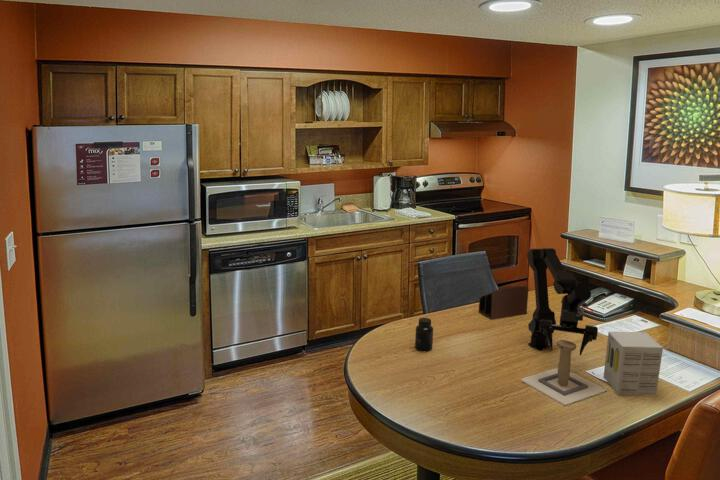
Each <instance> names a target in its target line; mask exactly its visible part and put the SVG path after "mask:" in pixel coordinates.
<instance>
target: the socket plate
mask: <svg viewBox="0 0 720 480" xmlns="http://www.w3.org/2000/svg"><path fill="white" fill-rule="evenodd" d="M519 381H520V382H522V383H524V384H526V385H527V386H529V387H531V388H532V389H534V390H536V391H538V392H539V393H541V394H543V395H545V396H547V397H548V398H550V399H552V400H554V402H557V403H558V404H560V403H561V404H560V405H562V404H563V405H562V406H564V405H565V406H564V407H566V405H567V406H569V405H568V404H570V405H572V404H571V403H573V404H575V403H574V402H576V403H578V402H577V401H579V402H581V401H584V400H586V398H587V399H589V398H588V397H590V398H592V397H591V396H593V397H595V396H594V395H596V396H598V395H597V394H599V393H602V394H604V393H603V392H605V391H607V392H608V390H607V389H606V388H604V387H601V386H600V385H598V384H595V383H593V382H591V381H590V380H587V379H586V378H583V377H582V376H579V375H577V374H575V373H574V372H571V371H570V376H569V380H568V385H566V386H562V385H559V383H558V367H555V368H552V369H549V370H546V371H543V372H539V373H535V374H532V375H529V376H526V377H522V378H520V379H519ZM605 393H606V392H605ZM599 395H600V394H599ZM583 399H584V400H583ZM580 400H581V401H580Z"/></svg>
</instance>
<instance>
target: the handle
mask: <svg viewBox="0 0 720 480" xmlns="http://www.w3.org/2000/svg"><path fill="white" fill-rule="evenodd" d="M556 346H557V347H558V348H559V349H560V354H559V361H558V367H557V368H558V383H559V385H562V386H566V385H568V380H569V376H570V372H571V362H572V361H571V359H572V355H571V354H572V352H574V351H575V350H576V349H577V344H575V343H574V342H572V341H569V340H566V339H558V340H557V341H556Z"/></svg>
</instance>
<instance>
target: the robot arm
mask: <svg viewBox="0 0 720 480" xmlns="http://www.w3.org/2000/svg"><path fill="white" fill-rule="evenodd" d="M526 253H527V254H526V259H527V260H528V265H529V267H530V268H531V270H532V271H533V279H534V280H533V281H534V282H533V283H534V294H535V295H534V296H535V310H534V311H533V313H532V319H531V320H530V322H529V323H528V325H527V328H528V331H529V332H530V333H531V336H530V342H528V343H527V345H528V346H530V347H533V348H535V349H537V350H538V351H542V350H545V349H550V352H552V351H553V334H554V332H555V331H558V332H564V333H565V332H567V333H573V334H581V335H583V336H582V341H581V344H580V345H581V346H580V349H579V356H582V354H583V352H584V350H585V348H586V346H587V345H588V344H589V343H590V342H593V341H595V340H596V341H597V339H598V333H599V331H598V330H599V329H598V327H597V326H596V325H588V324H585V326H584V327H585V328H584V327H578V325H579V321H581V322H582V321H583V320H584V310H580V307H581V306H583V305H584V304H585V303H586V302H588V300H589V299H590V298H591V297H592V291H591V290H590V288H589V287H588V286H586V285H584V284H583V282H580V281H577V279H576V278H575V277H574V275H573V274H572V273H569V272H567V271H566V269H565V267H564V265H563V264H562V261H561V260H560V258H559V257H558V255H557V252H556V249H555V248H553V247H547V248H546V247H544V248H530V249H529V251H528V252H526ZM547 270H548V271H549V272H550V274H551V276H552V277H553V280H554V281H553V283H552V284H553V289H554V291H555V293H556V294H558V295H564V296H563V297H562V299H561V308H560V309H561V311H560V317H559V324H557V321H556V315H555V312H554V311H552V309H551V308H550V301H549V289H548V275H547V273H548V272H547Z"/></svg>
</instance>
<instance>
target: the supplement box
mask: <svg viewBox="0 0 720 480" xmlns="http://www.w3.org/2000/svg"><path fill="white" fill-rule="evenodd" d="M663 351H664V347H663V346H662V345H661V344H659V342H657V341H656V340H655V339H654V338H653V337H652V336H650V335H649V333H647V332H646V331H642V332H641V331H608V335H607V344H606V352H605V353H606V354H605V359H604V360H605V361H604V370H603V378H604V377H605V378H606V380H607V381H608V382H609V383H608V382H607V381H606V380H605V381H606V382H607V383H608V385H609V384H610V385H611V386H612V387H611V386H610V387H611V389H612V390H613V389H614V390H615V391H616V392H615V391H614V390H613V391H614V392H615V394H616V395H617V394H628V395H627V396H644V395H656V396H657V391H658V385H659V377H660V370H661V364H662V356H663ZM605 378H604V379H605ZM630 394H631V395H630Z"/></svg>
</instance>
